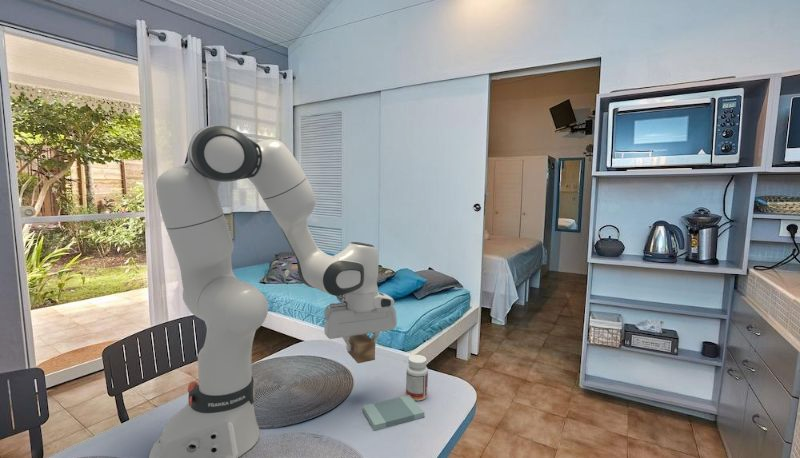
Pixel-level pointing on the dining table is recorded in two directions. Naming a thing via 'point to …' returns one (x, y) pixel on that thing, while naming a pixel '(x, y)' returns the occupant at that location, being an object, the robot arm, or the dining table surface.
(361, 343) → the walnut block
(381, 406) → the plate
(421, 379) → the pill bottle
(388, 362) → the dining table surface
